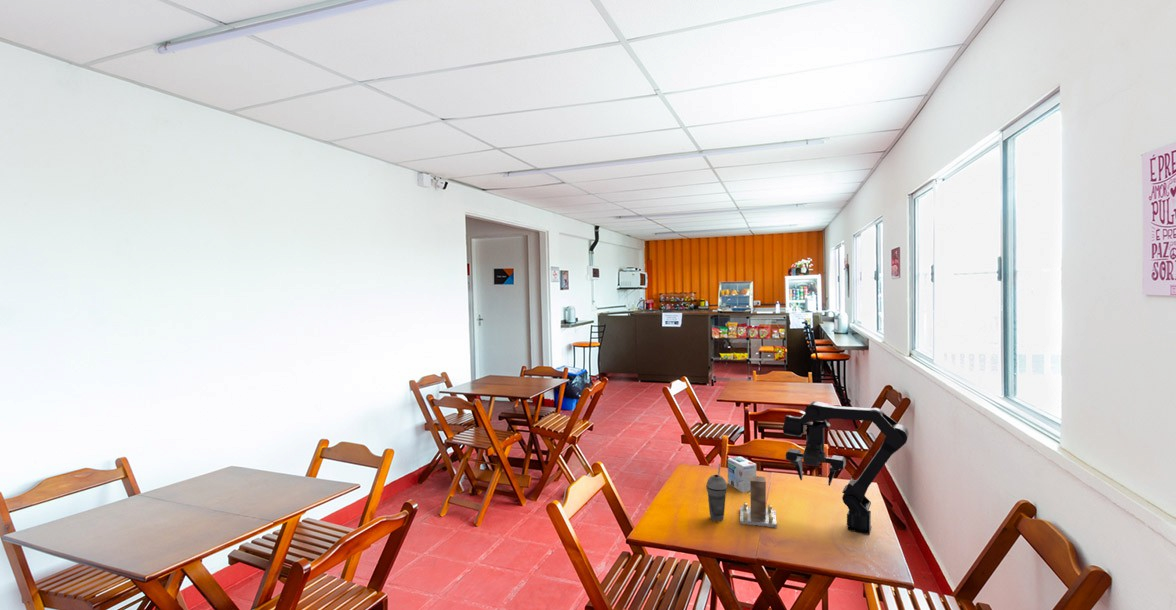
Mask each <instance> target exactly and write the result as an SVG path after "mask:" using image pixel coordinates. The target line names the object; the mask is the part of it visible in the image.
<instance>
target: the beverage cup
mask: <svg viewBox="0 0 1176 610" xmlns="http://www.w3.org/2000/svg"><path fill="white" fill-rule="evenodd" d="M720 473H721V463H718V471H717V474H713V475H711V476H709V477H708V479H707V481H706V492H707V498H708V500H707V501H708V509H709V517H710V518H711V519H710V518H709V519H710V520H711V521H712V522H716V521H720V522H723V521H724V517H725V509H726V508H725V507H726V495H727V491H728V483H727V482H726V479H725V478H724V477H723V476H721V475H720ZM722 520H723V521H722Z"/></svg>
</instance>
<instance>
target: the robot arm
mask: <svg viewBox="0 0 1176 610" xmlns="http://www.w3.org/2000/svg"><path fill="white" fill-rule="evenodd" d="M833 419H837V420H847V421H849V420H851V421H865V422H872V423H873V424H874V425H875V426H876V427H877V429H879V431H880V432H881V433H882V434H883V435H884V436H885V437H884V440H883V442H882V444H881V445H880V446H879V449H878V450H877V451H876V453H875V454H874V456H873V457H872V459H871V460H870V461H869V463H868V464H867V465H866V467H865V468H864V470H863V471H862V473H861V474H860V475H859V477H858V478H857V479H854V478H852V477H850V480H849V481H848V484H846V485H845V486H844V487H843V490H842V497H841V498H842V499H841V500H842V502H843V503H844V505H845V506H846V507H847V509H848V511H847V513H846V526H847V530H848V531H851V532H856V533H861V534H864V535H870V533H871V531H872V529H873V528H872V525H871V522H872V519H871V517H872V514H871V513H872V512H871V510H869V509H870V508H871V505H872V502H871V501H870V500H869V498H867V496H866V495H867V491H868V490H869V487H870V485H871V484H872V483H873V482H874V480H875V479H876V477H877V476H878V475H879V473H880V472H881V470H882V469H883V468H884V466H885V464H887V462H888V460H889V459H890V458H891V457H892V456H893V455H894V454H895V453H896V452H897V451H899V450H900V449H901V448H902V447H904V446H905V444H906V443H907V441H908V438H909V431H908V429H907V427H906V426H904V424H901V423H898V422H896V421H895V420H894V419H893V418H892V417H891V416H889V415H887V414H886V413H885V412H883V411H882V410H881V408H879V407H858V406H857V407H856V406H842V405H841V406H840V405H839V406H838V405H832V404H830V403H827V402H823V401H818V400H817V401H814V400H813V401H812V402H811V403H809V405H807V406H806V407H805V409H804V414H802V415H801V416H795V415H794V416H793V415H789V414H786V415H785V416H784V422H783V427H782V430H783V431H782V432H783V435H787V436H794V437H802V435H806V436H805V437H806V439H805V441H806V442H805V447H804V451H803V453H802V451H801V449H797V448H796V449H795V448H792V447H791V448H790V449H788V450H787V451H786V452H785V460H786V461H789V463H790V464H792V465H794V467H795V469H796V472H797V474H798V477H799V480H800V481H803V477H804V476H803V464H804V465H805V466H808V465H809V466H813V467H818V466H819V465H820V464H822V463H823V464H830V467H829V474H828V480H827V481H828V486H831V483H832V482H833V479H834V477H835V473H836V472H837V471H840V470H844V468H845V467H846V465H847V460H846V457H845V456H841V455H832V456H831V457H829V456H828V457H827V455H826V452H825V429H830V428H831V424H830V422H828V420H833Z"/></svg>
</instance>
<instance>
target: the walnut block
mask: <svg viewBox="0 0 1176 610" xmlns="http://www.w3.org/2000/svg"><path fill="white" fill-rule="evenodd" d="M766 482H767V481H766V477H765V476H760V475H759V476H757V475H756V476H750V492H749V493H750V494H749V496H750V507H751V517H752V518H762V519H766V509H767V508H766V507H767V503H766V502H767V493H766V491H767V490H766V487H767V486H766V485H767V483H766Z"/></svg>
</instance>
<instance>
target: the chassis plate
mask: <svg viewBox="0 0 1176 610" xmlns="http://www.w3.org/2000/svg"><path fill="white" fill-rule="evenodd" d="M739 513H740V514H739V524H740V525H745V524H747V526H755V525H758V526H757V527H764V526H768V527H767V528H773V527H777V528H778V523H777V517H776V509H773V505H771V504H767V508H766V519H762V518H752V517H751V506H748V503H747V502H743V505H741V506H740V508H739Z"/></svg>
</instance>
